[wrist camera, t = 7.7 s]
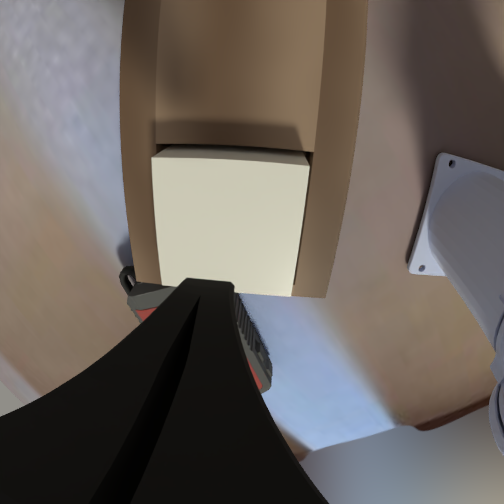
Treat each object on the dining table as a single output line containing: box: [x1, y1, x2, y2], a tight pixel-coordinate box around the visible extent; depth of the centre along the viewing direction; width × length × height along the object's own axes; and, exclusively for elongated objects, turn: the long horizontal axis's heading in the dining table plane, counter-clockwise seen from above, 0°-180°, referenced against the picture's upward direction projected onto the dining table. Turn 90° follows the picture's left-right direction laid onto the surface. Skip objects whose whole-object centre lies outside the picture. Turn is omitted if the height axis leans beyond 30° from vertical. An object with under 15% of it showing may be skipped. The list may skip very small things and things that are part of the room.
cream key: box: [151, 144, 310, 297], centre depth 14 cm, size 6×6×3 cm
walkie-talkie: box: [119, 266, 272, 394], centre depth 22 cm, size 9×4×20 cm
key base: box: [120, 0, 368, 298], centre depth 10 cm, size 10×27×4 cm, turn 177°
